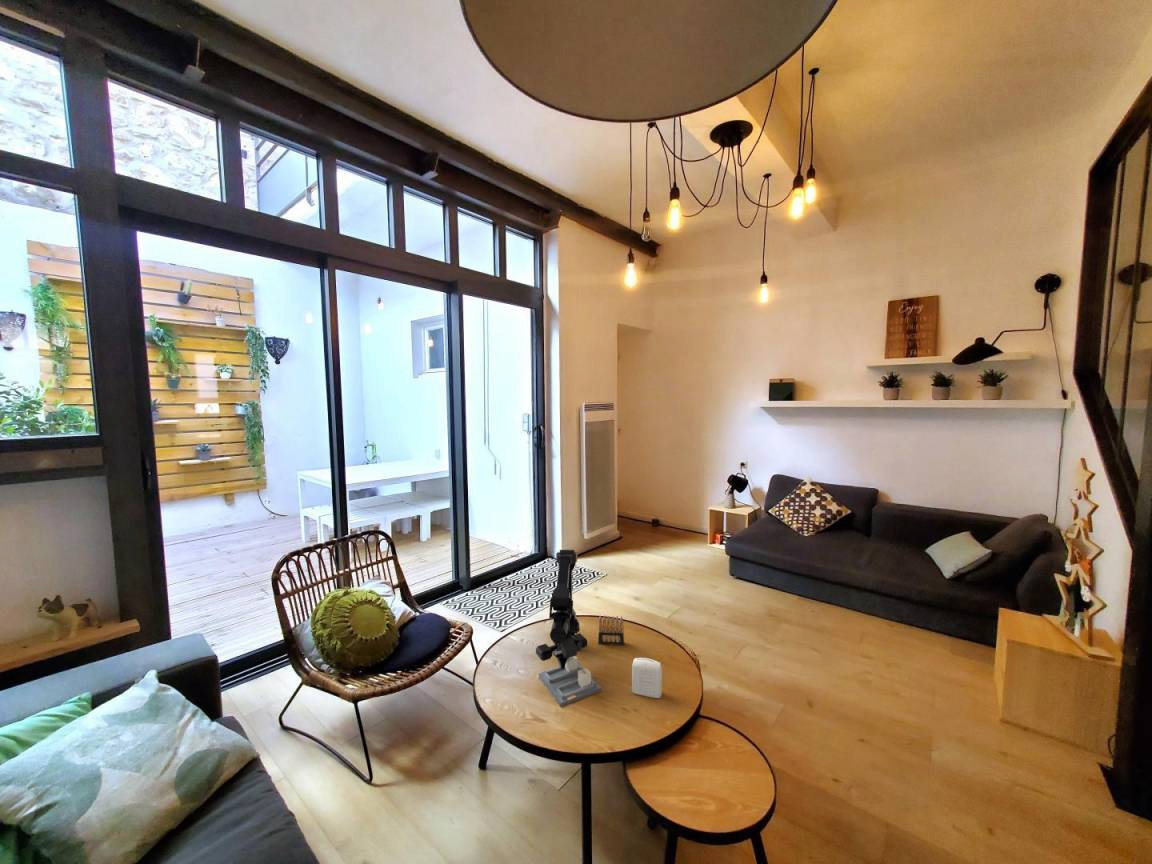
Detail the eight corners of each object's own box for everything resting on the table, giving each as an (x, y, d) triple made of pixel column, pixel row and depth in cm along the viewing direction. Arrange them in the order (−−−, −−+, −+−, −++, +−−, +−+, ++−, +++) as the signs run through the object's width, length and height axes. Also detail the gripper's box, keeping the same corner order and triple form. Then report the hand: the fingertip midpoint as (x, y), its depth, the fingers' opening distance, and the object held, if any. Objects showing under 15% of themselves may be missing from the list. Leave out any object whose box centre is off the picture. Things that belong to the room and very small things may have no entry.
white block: (577, 683, 157) (577, 669, 157) (586, 680, 159) (586, 666, 158) (582, 689, 155) (582, 674, 154) (591, 685, 156) (590, 671, 156)
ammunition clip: (598, 644, 184) (597, 616, 183) (598, 641, 186) (598, 614, 185) (624, 645, 183) (623, 617, 182) (624, 642, 185) (623, 615, 184)
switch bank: (538, 676, 164) (538, 671, 164) (576, 663, 171) (576, 658, 171) (560, 706, 148) (560, 700, 148) (601, 690, 155) (601, 684, 155)
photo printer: (662, 691, 154) (662, 658, 153) (661, 700, 150) (661, 665, 149) (633, 686, 157) (632, 653, 156) (631, 694, 153) (630, 660, 152)
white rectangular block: (565, 668, 166) (565, 655, 166) (573, 665, 168) (573, 652, 167) (569, 673, 163) (568, 659, 163) (577, 670, 165) (577, 656, 164)
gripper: (547, 645, 151) (548, 689, 152) (594, 631, 160) (595, 672, 161) (534, 630, 161) (535, 671, 162) (579, 617, 169) (580, 656, 171)
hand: (562, 668), depth 164 cm, fingers closed
